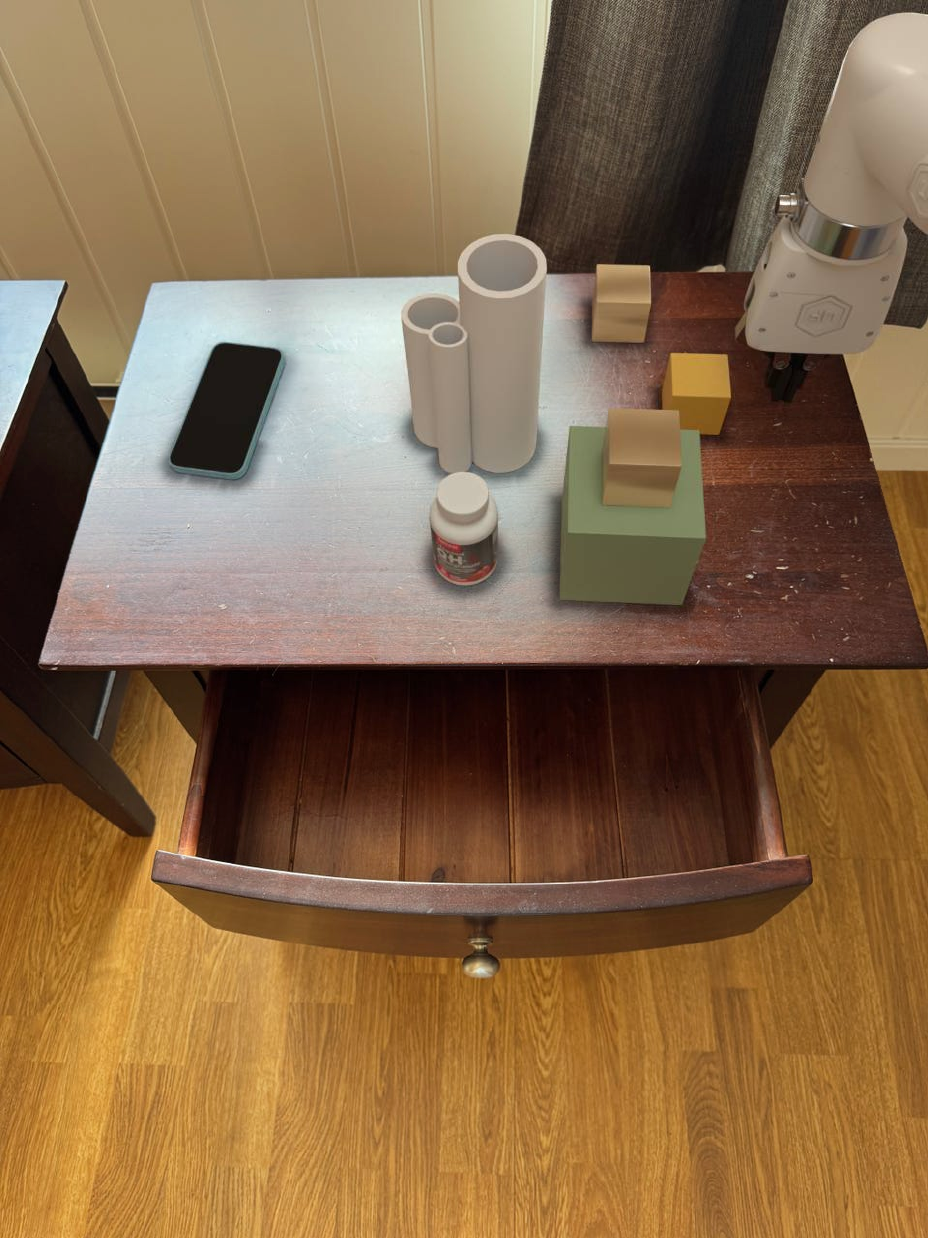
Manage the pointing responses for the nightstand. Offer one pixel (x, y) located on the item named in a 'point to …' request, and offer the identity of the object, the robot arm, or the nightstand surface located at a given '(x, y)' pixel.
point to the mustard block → (697, 390)
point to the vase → (480, 357)
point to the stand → (628, 530)
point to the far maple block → (621, 303)
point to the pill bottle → (464, 529)
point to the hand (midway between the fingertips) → (779, 390)
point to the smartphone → (227, 411)
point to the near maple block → (641, 457)
